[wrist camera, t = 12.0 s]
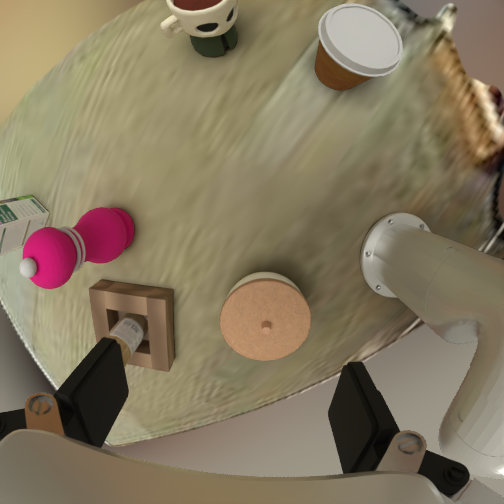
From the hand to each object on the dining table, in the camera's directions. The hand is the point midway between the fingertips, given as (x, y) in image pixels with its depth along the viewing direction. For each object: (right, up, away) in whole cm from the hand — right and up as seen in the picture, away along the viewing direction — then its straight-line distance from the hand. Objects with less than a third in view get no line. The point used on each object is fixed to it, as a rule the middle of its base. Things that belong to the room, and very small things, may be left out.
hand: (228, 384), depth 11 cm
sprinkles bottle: (-17, -5, +31) cm, 35 cm away
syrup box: (-35, +11, +27) cm, 46 cm away
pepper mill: (-19, +9, +28) cm, 34 cm away
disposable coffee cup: (+13, +30, +22) cm, 39 cm away
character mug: (-4, +35, +21) cm, 41 cm away
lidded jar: (+3, -1, +30) cm, 30 cm away
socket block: (-17, -5, +31) cm, 35 cm away
